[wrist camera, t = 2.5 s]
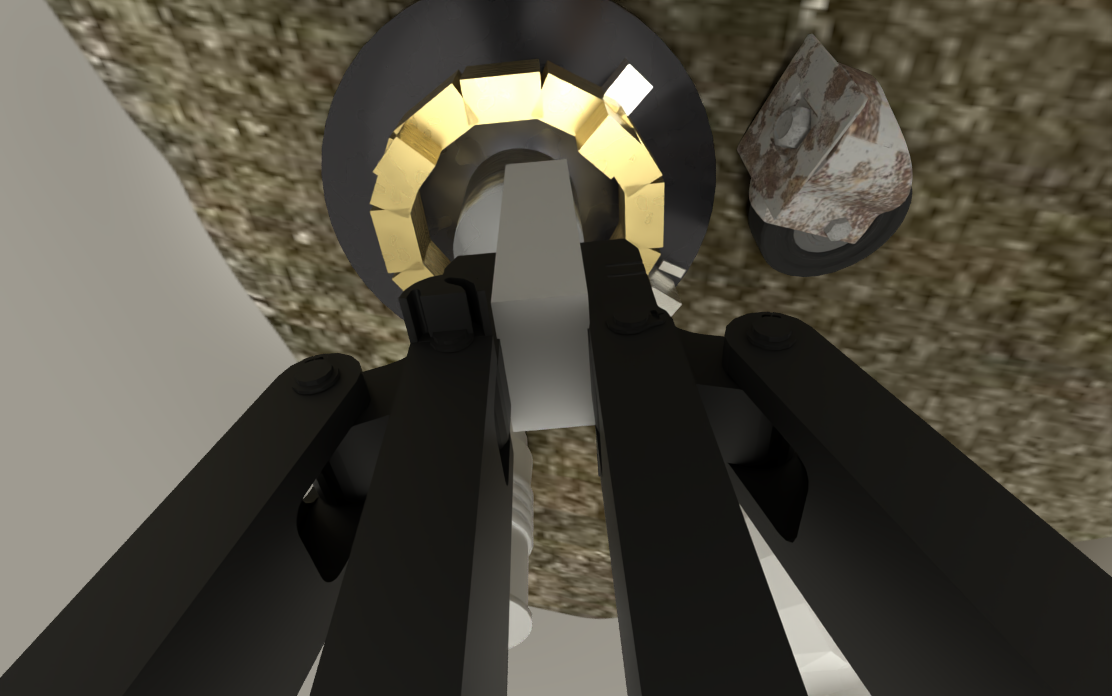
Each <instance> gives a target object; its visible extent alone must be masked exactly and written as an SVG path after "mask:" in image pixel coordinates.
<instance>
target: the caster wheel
mask: <svg viewBox="0 0 1112 696" xmlns="http://www.w3.org/2000/svg"><path fill="white" fill-rule="evenodd" d="M737 151H738V153H739V155H740V157H741V159H742V161H743V163H744V164H745V166H746V168H747V170H748V172H749V174H750V176H751V182H750V188H749V200H750V203H751V204H750V208H749V226H750V229H751V232H752V235H753V237H754V239H755V241H756V243H757V245H758V247H759V249H760V251H761V253H762V255H763V257H764V259H765V260H766V262H767V263H768V264H769V265H770V266H771V267H772V268H774V269H775V270H777V271H779V272H781V273H784V274H787V275H791V276H800V277H810V276H819V275H824V274H828V273H833V272H836V271H838V270H841V269H843V268H846V267H848V266H851V265H853V264H855V263H857V262H858V261H860V260H862V259H864V258H866V257H867V256H869V255H870V254H872V253H873V252H874V251H876V250H877V249H878V248H879V247H880V246H882V245H883V244H884V243H885V242H886V241H887V240H888V239H889V238H890V237H891V236H892V235H893V234H894V233H895V232H896V230H897V229H898V227H899V226H900V225H901V223H902V222H903V220H904V218H905V216H906V214H907V212H908V209H909V206H910V204H911V199H912V186H911V184H912V165H911V160H910V155H909V152H908V148H907V145H906V142H905V139H904V137H903V134H902V132H901V130H900V127H899V125H898V123H897V121H896V119H895V116H894V114H893V112H892V110H891V108H890V106H889V103H888V101H887V99H886V97H885V94H884V92H883V90H882V88H881V86H880V84H879V83H878V81H877V80H876V79H875V78H874V77H873V76H872V75H870V74H868V73H866V72H863V71H860V70H858V69H855V68H852V67H849V66H847V65H844V64H841V63H839V62H837V61H836V60H835V59H834V58H833V57H832V56H831V54H830V53H829V52H828V51H827V50H826V49H825V47H824V46H823V45H822V44H821V43H820V42H819V40H818V39H817V38H816V37H815V36H814V35H813V34H808V36H807V37H806V39H805V40H804V42H803V43H802V45H801V47H800V48H799V50H798V51H797V53H796V54H795V56H794V58H793V59H792V61H791V62H790V64H789V65H788V67H787V69H786V70H785V72H784V73H783V75H782V76H781V78H780V80H779V81H778V83H777V84H776V86H775V87H774V89H773V91H772V92H771V94H770V95H769V97H768V98H767V100H766V102H765V103H764V105H763V106H762V108H761V109H760V111H759V113H758V114H757V116H756V117H755V119H754V120H753V122H752V124H751V125H750V127H749V128H748V130H747V131H746V133H745V135H744V136H743V138H742V139H741V141H740V143H739V145H738V148H737Z"/></svg>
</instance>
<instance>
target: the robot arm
mask: <svg viewBox="0 0 1112 696" xmlns="http://www.w3.org/2000/svg"><path fill="white" fill-rule="evenodd" d="M398 300H399V303H400V307H401V310H402V314H403V318H404V321H405V325H406V328H407V332H408V336H409V339H410V347H409V350H408V354H407V357H405V358H403V359H401V360H399V361H396V362H394V363H391V364H388V365H385V366H382V367H378V368H375V369H371V370H368V371H364V372H362V369H361V366H360V363H359V361H357V360H356V359H355V358H353V357H352V356H350V355H345V354H340V353H332V354H320V355H315V356H314V357H313V356H312V357H309V358H306V359H304V360H302V361H300V362H298V363H296V364H294V365H292V366H290V367H289V368H288V369H286V370H285V371H284V372H283V373H282V374H281V375H279V376H278V377H277V378H276V379H275V380H274V381H273V382H272V383H271V385H270V386H269V387H268V388H267V389H266V390H265V391H264V392H263V393H262V394H261V395H260V396H259V398H258V399H257V400H256V401H255V402H254V403H253V404H252V405H251V406H250V407H249V408H248V409H247V411H246V412H245V413H244V414H243V415H242V416H241V417H240V418H239V419H238V421H237V422H236V423H235V424H234V425H233V426H232V427H231V428H230V429H229V430H228V431H227V432H226V434H224V436H223V437H222V438H221V439H220V440H219V441H218V442H217V443H216V444H215V445H214V446H213V447H212V449H211V450H210V451H209V452H208V453H207V454H206V455H205V456H204V457H203V458H202V459H201V460H200V462H199V463H198V464H197V465H196V466H195V467H194V468H193V469H192V470H191V471H190V472H189V474H188V475H187V476H186V477H185V478H184V479H183V480H182V481H181V482H180V483H179V484H178V486H177V487H176V488H175V489H174V490H173V491H172V492H171V493H170V494H169V495H168V496H167V497H166V498H165V500H164V501H163V502H162V503H161V504H160V505H159V506H158V507H157V508H156V509H155V510H154V512H153V513H152V514H151V515H150V516H149V517H148V518H147V519H146V520H145V521H144V522H143V523H142V524H141V526H140V527H139V528H138V529H137V530H136V531H135V532H134V533H133V534H132V535H131V536H130V538H129V539H128V540H127V541H126V542H125V543H124V544H123V545H122V546H121V547H120V548H119V549H118V551H117V552H116V553H115V554H114V555H113V556H112V557H111V558H110V559H109V560H108V561H107V562H106V564H105V565H104V566H103V567H102V568H101V569H100V570H99V571H98V572H97V573H96V574H95V576H94V577H93V578H92V579H91V580H90V581H89V582H88V583H87V584H86V585H85V586H84V587H83V588H82V590H81V591H80V592H79V593H78V594H77V595H76V596H75V597H74V598H73V599H72V600H71V601H70V603H69V604H68V605H67V606H66V607H65V608H64V609H63V610H62V611H61V612H60V613H59V615H58V616H57V617H56V618H55V619H54V620H53V621H52V622H51V623H50V624H49V626H47V628H46V629H45V630H44V631H43V632H42V633H41V634H40V635H39V636H38V637H37V638H36V640H35V641H34V642H33V643H32V644H31V645H30V646H29V647H28V648H27V649H26V650H25V651H24V652H23V654H22V655H21V656H20V657H19V658H18V659H17V660H16V661H15V662H14V663H13V664H12V666H11V667H10V668H9V669H8V670H7V671H6V672H5V673H4V674H3V675H2V677H1V678H0V696H297V694H298V692H299V690H300V689H301V687H302V685H303V683H304V681H305V679H306V677H307V675H308V673H309V671H310V669H311V668H312V666H313V664H314V662H315V660H316V658H317V656H318V654H319V652H320V650H321V648H322V646H323V645H324V647H323V651H322V654H321V658H320V661H319V665H318V668H317V672H316V675H315V679H314V682H313V686H312V689H311V692H310V696H507V675H508V640H509V605H510V570H511V535H512V499H513V464H514V452H513V446H512V440H511V435H510V422H512V427H513V432H519V431H531V430H542V429H554V428H565V427H577V426H588V425H595V427H596V443H597V459H598V475H599V476H600V477H601V485H602V493H603V501H604V509H605V517H606V525H607V533H608V541H609V549H610V557H611V565H612V573H613V581H614V589H615V598H616V606H617V614H618V622H619V630H620V637H621V646H622V654H623V661H624V669H625V678H626V686H627V694H628V696H808V694H807V691H806V688H805V685H804V683H803V680H802V677H801V674H800V672H799V669H798V666H797V663H796V660H795V658H794V655H793V652H792V649H791V647H790V644H789V641H788V638H787V635H786V633H785V630H784V627H783V624H782V622H781V619H780V616H779V613H778V610H777V608H776V605H775V602H774V599H773V597H772V594H771V591H770V588H769V585H768V583H767V580H766V577H765V574H764V572H763V569H762V566H761V563H760V560H759V558H758V555H757V552H756V549H755V547H754V544H753V541H752V538H751V535H750V533H749V530H748V527H747V524H746V522H745V519H744V516H743V513H742V510H741V508H740V505H741V507H742V508H743V510H744V511H745V513H746V514H747V516H748V517H749V519H750V520H751V521H752V523H753V524H754V526H755V527H756V529H757V530H758V532H759V533H760V535H761V536H762V537H763V539H764V540H765V542H766V543H767V545H768V546H769V548H770V549H771V551H772V552H773V553H774V555H775V556H776V558H777V559H778V561H779V562H780V564H781V565H782V567H783V568H784V569H785V571H786V572H787V574H788V575H789V577H790V578H791V580H792V581H793V583H794V584H795V585H796V587H797V588H798V590H799V591H800V593H801V594H802V596H803V597H804V599H805V600H806V601H807V603H808V604H809V606H810V607H811V609H812V610H813V612H814V613H815V615H816V616H817V617H818V619H819V620H820V622H821V623H822V625H823V626H824V628H825V629H826V631H827V632H828V633H829V635H830V636H831V638H832V639H833V641H834V642H835V644H836V645H837V647H838V648H839V649H840V651H841V652H842V654H843V655H844V657H845V658H846V660H847V661H848V663H849V664H850V665H851V667H852V668H853V670H854V671H855V673H856V674H857V676H858V677H859V679H860V680H861V681H862V683H863V684H864V686H865V687H866V689H867V690H868V692H869V693H870V695H871V696H1112V577H1111V576H1110V575H1108V574H1107V573H1106V572H1105V571H1104V570H1103V569H1101V568H1100V567H1099V566H1098V565H1097V564H1095V563H1094V562H1093V561H1092V560H1091V559H1089V558H1088V557H1087V556H1086V555H1084V554H1083V553H1082V552H1081V551H1080V550H1079V549H1077V548H1076V547H1075V546H1074V545H1073V544H1071V543H1070V542H1069V541H1068V540H1067V539H1065V538H1064V537H1063V536H1062V535H1061V534H1059V533H1058V532H1057V531H1056V530H1055V529H1053V528H1052V527H1051V526H1050V525H1049V524H1047V523H1046V522H1045V521H1044V520H1043V519H1041V518H1040V517H1039V516H1038V515H1037V514H1035V513H1034V512H1033V511H1032V510H1031V509H1029V508H1028V507H1027V506H1026V505H1025V504H1023V503H1022V502H1021V501H1020V500H1019V499H1017V498H1016V497H1015V496H1014V495H1013V494H1011V493H1010V492H1009V491H1008V490H1007V489H1005V488H1004V487H1003V486H1002V485H1001V484H999V483H998V482H997V481H996V480H995V479H993V478H992V477H991V476H990V475H989V474H987V473H986V472H985V471H984V470H983V469H981V468H980V467H979V466H978V465H977V464H975V463H974V462H973V461H972V460H971V459H969V458H968V457H967V456H966V455H965V454H963V453H962V452H961V451H960V450H959V449H957V448H956V447H955V446H954V445H953V444H951V443H950V442H949V441H948V440H947V439H945V438H944V437H943V436H942V435H941V434H939V433H938V432H937V431H936V430H935V429H933V428H932V427H931V426H930V425H929V424H927V423H926V422H925V421H924V420H923V419H921V418H920V417H919V416H918V415H917V414H915V413H914V412H913V411H912V410H911V409H909V408H908V407H907V406H906V405H905V404H903V403H902V402H901V401H900V400H899V399H897V398H896V397H895V396H894V395H893V394H891V393H890V392H889V391H888V390H887V389H885V388H884V387H883V386H882V385H881V384H879V383H878V382H877V381H876V380H875V379H873V378H872V377H871V376H870V375H869V374H867V373H866V372H865V371H864V370H863V369H861V368H860V367H859V366H858V365H857V364H855V363H854V362H853V361H852V360H851V359H849V358H848V357H847V356H846V355H845V354H843V353H842V352H841V351H840V350H839V349H837V348H836V347H835V346H834V345H833V344H831V343H830V342H829V341H828V340H827V339H825V338H824V337H823V336H822V335H821V334H819V333H818V332H817V331H816V330H815V329H813V328H812V327H811V326H809V325H808V324H806V323H804V322H803V321H801V320H799V319H798V318H794V317H791V316H788V315H784V314H781V313H775V312H773V313H770V312H758V313H749V314H745V315H743V316H740V317H738V318H735V319H734V320H732V321H731V322H730V323H729V324H728V325H727V326H726V331H725V337H723V336H714V335H704V334H698V333H692V332H688V331H685V330H682V329H679V328H677V327H676V326H675V324H674V322H673V319H672V317H671V316H670V315H669V314H668V312H667V311H666V310H664V309H662V308H661V307H659V306H658V305H657V302H656V299H655V296H654V293H653V290H652V287H651V284H650V281H649V278H648V275H647V274H646V269H645V267H644V264H643V261H642V258H641V255H640V252H639V249H638V248H637V247H636V246H634V245H633V244H632V243H630V242H629V241H627V240H626V239H614V240H603V241H592V242H582V243H580V241H579V234H578V228H577V222H576V215H575V209H574V203H573V196H572V190H571V184H570V177H569V171H568V165H567V159H560V160H549V161H539V162H529V163H518V164H508V165H506V166H505V175H504V185H503V194H502V203H501V213H500V222H499V231H498V241H497V250H496V252H494V253H484V254H473V255H462V256H457V257H456V258H455V259H454V260H453V261H452V262H451V263H450V264H449V265H448V266H447V267H445V269H444V273H443V275H437V276H432V277H429V278H426V279H423V280H421V281H418V282H416V283H414V284H413V285H411V286H410V287H408V288H407V289H405V290H404V291H403V293H402V294H401V295H400V297H399V298H398ZM312 484H313V485H314V486H313V487H312V489H311V491H310V492H309V493H308V495H307V496H306V497H305V498H304V499H303V497H304V495H305V494H306V492H307V491H308V489H309V488H310V486H311V485H312ZM739 504H740V505H739ZM324 643H325V644H324Z"/></svg>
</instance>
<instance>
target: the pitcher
mask: <svg viewBox="0 0 1112 696" xmlns="http://www.w3.org/2000/svg"><path fill="white" fill-rule="evenodd" d="M739 505H740V504H739ZM740 508H741V510H742V513H743V516H744V519H745V522H746V524H747V527H748V530H749V533H750V535H751V538H752V541H753V544H754V547H755V549H756V552H757V555H758V558H759V560H760V563H761V566H762V569H763V572H764V574H765V577H766V580H767V583H768V585H769V588H770V591H771V594H772V597H773V599H774V602H775V605H776V608H777V610H778V613H779V616H780V619H781V622H782V624H783V627H784V630H785V633H786V635H787V638H788V641H789V644H790V647H791V649H792V652H793V655H794V658H795V660H796V663H797V666H798V669H799V672H800V674H801V677H802V680H803V683H804V685H805V688H806V691H807V694H808V696H871V695H870V693H869V692H868V690H867V689H866V687H865V686H864V684H863V683H862V681H861V680H860V679H859V677H858V676H857V674H856V673H855V671H854V670H853V668H852V667H851V665H850V664H849V663H848V661H847V660H846V658H845V657H844V655H843V654H842V652H841V651H840V649H839V648H838V647H837V645H836V644H835V642H834V641H833V639H832V638H831V636H830V635H829V633H828V632H827V631H826V629H825V628H824V626H823V625H822V623H821V622H820V620H819V619H818V617H817V616H816V615H815V613H814V612H813V610H812V609H811V607H810V606H809V604H808V603H807V601H806V600H805V599H804V597H803V596H802V594H801V593H800V591H799V590H798V588H797V587H796V585H795V584H794V583H793V581H792V580H791V578H790V577H789V575H788V574H787V572H786V571H785V569H784V568H783V567H782V565H781V564H780V562H779V561H778V559H777V558H776V556H775V555H774V553H773V552H772V551H771V549H770V548H769V546H768V545H767V543H766V542H765V540H764V539H763V537H762V536H761V535H760V533H759V532H758V530H757V529H756V527H755V526H754V524H753V523H752V521H751V520H750V519H749V517H748V516H747V514H746V513H745V511H744V510H743V508H742V507H741V505H740Z"/></svg>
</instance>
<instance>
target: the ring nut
mask: <svg viewBox="0 0 1112 696" xmlns="http://www.w3.org/2000/svg"><path fill="white" fill-rule="evenodd" d="M652 88H653V86H652V85H651V83H650V82H649V80H648V79H647V78H646V77H645V76H644V75H643V74H642V73H641V72H640V71H638V70H637V69H636V68H635V67H634V66H633V65H632V64H631V63H630V62H629V61H628V60H627V59H626V58H625V59H624V60H623V61H622V62H621V64H620V65H619V66H618V67H617V68H616V70H615V71H614V72H613V73H612V75H611V76H610V77H609V78H608V79H607V81H606V82H605V83H604V84H603V86H602V87H600V86H598V85H596V84H594V83H592V82H590V81H588V80H586V79H584V78H582V77H580V76H578V75H576V74H574V73H572V72H570V71H568V70H566V69H564V68H562V67H560V66H558V65H556V64H554V63H552V62H550V61H548V60H547V62H546V64H545V67H544V69H543V72H542V74H541V73H540V63H539V59H531V60H522V61H512V62H502V63H493V64H483V65H474V66H466V68H465V70H464V72H463V74H462V73H461V72H460V71H459V69H458V70H457V71H456V72H455V73H454V74H452V75H451V76H450V77H449V78H448V79H446V80H445V81H444V82H443V83H441V84H440V85H439V86H438V87H437V88H435V89H434V90H433V91H432V92H431V93H429V94H428V95H427V96H426V97H424V98H423V99H422V100H421V101H420V102H418V103H417V104H416V105H415V106H414V107H412V108H411V109H410V110H409V111H407V112H406V113H405V114H404V116H403V117H402V119H401V120H400V122H399V123H398V125H397V126H396V128H395V129H394V131H393V133H392V134H391V136H390V137H389V140H388V143H387V147H386V150H385V153H384V155H383V156H382V158H381V160H380V161H379V163H378V164H377V166H376V168H375V169H374V171H373V172H374V173H375V174H376V175H378V177H377V181H376V184H375V188H374V191H373V194H372V198H371V201H370V204H372V205H373V206H372V208H371V210H370V214H371V217H372V220H373V224H374V227H375V231H376V234H377V237H378V241H379V244H380V248H381V251H382V254H383V258H384V261H385V265H386V268H387V271H388V273H394V275H393V277H392V280H393V281H394V282H395V283H396V284H397V285H398V286H399V287H400V288H401V289H402V290H403V291H404V290H405V289H407V288H408V287H410V286H411V285H413V284H414V283H416V282H418V281H421V280H423V279H426V278H429V277H432V276H437V275H443V273H444V269H445V267H447V266H448V265H449V264H450V263H451V261H450V260H449V259H448V258H447V257H446V256H445V255H444V254H443V253H442V251H441V250H440V249H439V248H438V247H437V246H436V245H435V244H434V243H433V242H432V241H431V239H430V234H429V230H428V226H427V222H426V217H425V213H424V209H423V205H422V200H421V196H420V192H419V191H420V188H421V185H422V184H423V182H424V181H425V179H426V178H427V177H428V175H429V174H430V173H431V171H432V170H433V168H434V167H435V165H436V163H437V160H438V158H439V155H440V153H441V151H442V150H443V149H444V148H446V147H447V146H448V145H449V144H451V143H452V142H453V141H455V140H456V139H457V138H458V137H460V136H461V135H462V134H464V133H465V132H466V131H467V130H469V129H470V128H471V127H473V126H474V125H479V124H489V123H499V122H509V121H519V120H529V119H539V120H541V121H543V122H545V123H548V124H550V125H552V126H554V127H556V128H558V129H560V130H563V131H565V132H567V133H569V134H571V135H573V136H575V138H576V143H577V149H578V152H579V153H580V154H582V155H583V156H584V157H585V158H586V159H588V160H589V161H590V162H591V163H592V164H593V165H595V166H596V167H597V168H598V169H599V170H601V171H602V172H603V173H604V174H605V175H606V176H608V177H609V178H610V179H612V178H613V177H615V179H616V180H617V182H618V188H619V223H618V225H617V227H616V229H615V231H614V232H613V234H612V236H611V238H610V239H609V240H614V239H626V240H627V241H629V242H630V243H632V244H633V245H634V246H636V247H637V248H638V249H639V252H640V255H641V258H642V261H643V264H644V267H645V269H646V274H647V275H648V274H649V272H650V271H651V269H652V268H653V266H654V264H655V263H656V261H657V260H658V258H659V256H660V255H661V252H660V250H659V248H660V247H663V231H664V181H663V178H662V173H661V171H660V169H659V167H658V165H657V163H656V161H655V159H654V157H653V155H652V153H651V152H650V150H649V148H648V147H647V145H646V143H645V142H644V140H643V138H642V137H641V135H640V133H639V132H638V130H637V129H636V127H635V125H634V124H633V122H632V120H631V119H630V117H629V114H630V113H631V112H632V111H633V110H634V109H635V107H636V106H637V105H638V104H639V103H640V102H641V101H642V99H643V98H644V97H645V96H646V95H647V94H648V92H649V91H650V90H651V89H652Z"/></svg>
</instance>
